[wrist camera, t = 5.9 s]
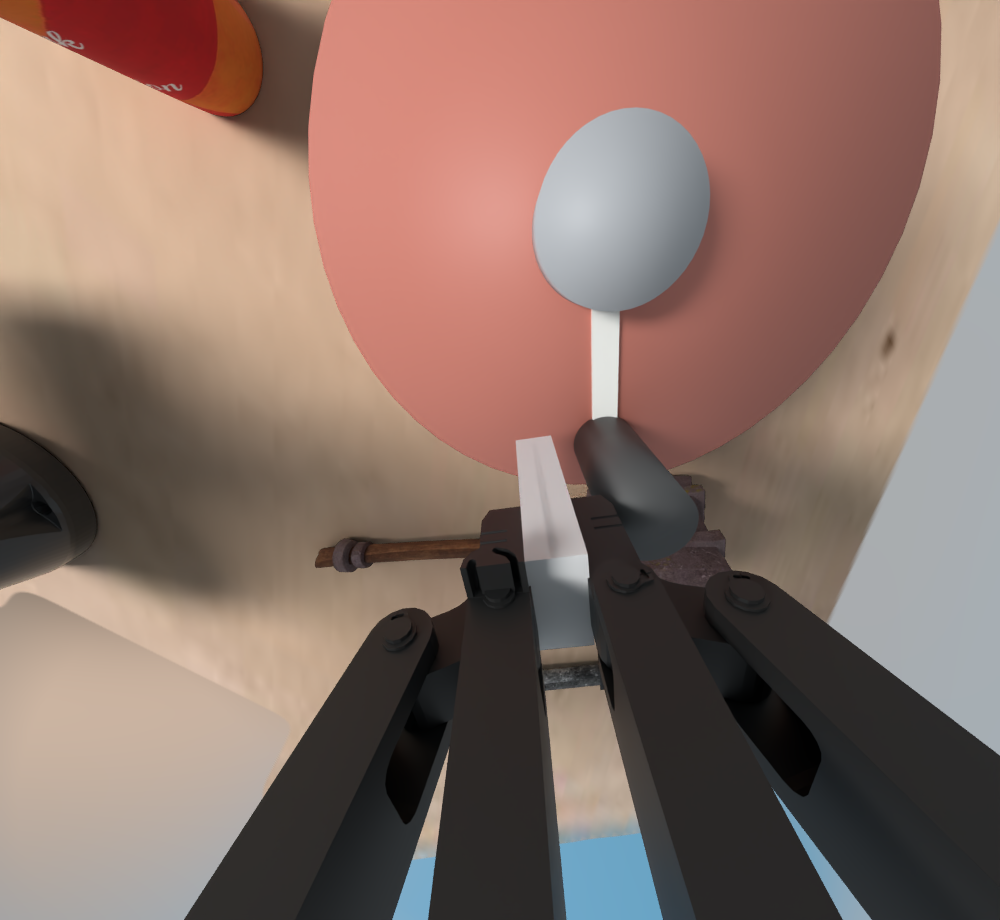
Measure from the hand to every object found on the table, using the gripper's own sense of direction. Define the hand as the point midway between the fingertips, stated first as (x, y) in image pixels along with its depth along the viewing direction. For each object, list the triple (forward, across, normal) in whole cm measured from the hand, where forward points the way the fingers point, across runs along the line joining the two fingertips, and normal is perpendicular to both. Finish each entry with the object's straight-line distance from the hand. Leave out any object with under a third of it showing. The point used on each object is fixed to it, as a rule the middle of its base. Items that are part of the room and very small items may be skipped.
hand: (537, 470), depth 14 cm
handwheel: (+7, -3, -8) cm, 11 cm away
